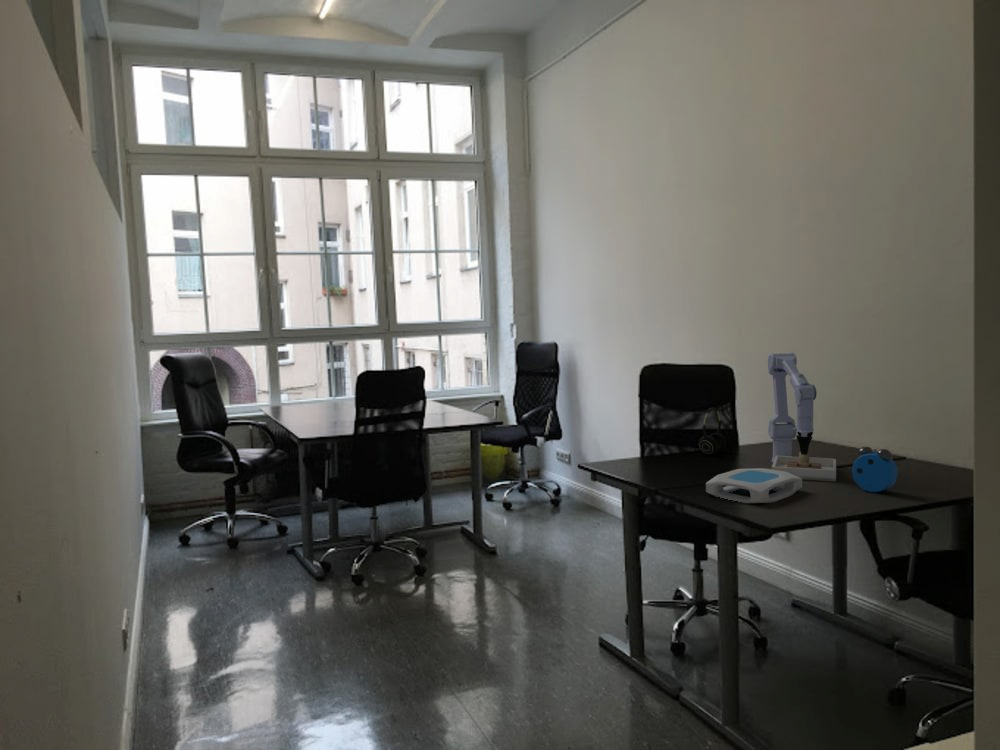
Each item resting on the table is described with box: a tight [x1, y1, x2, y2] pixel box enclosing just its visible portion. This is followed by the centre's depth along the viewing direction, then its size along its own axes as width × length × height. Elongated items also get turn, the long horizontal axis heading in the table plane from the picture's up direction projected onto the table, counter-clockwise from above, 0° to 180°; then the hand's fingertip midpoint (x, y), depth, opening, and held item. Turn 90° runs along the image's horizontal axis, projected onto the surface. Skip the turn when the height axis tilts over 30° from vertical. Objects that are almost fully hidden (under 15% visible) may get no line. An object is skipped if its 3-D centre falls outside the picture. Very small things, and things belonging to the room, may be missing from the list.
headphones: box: [698, 407, 727, 455], centre depth 338 cm, size 9×15×20 cm, turn 138°
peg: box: [798, 451, 810, 467], centre depth 298 cm, size 4×4×7 cm
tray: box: [771, 456, 837, 482], centre depth 298 cm, size 22×22×4 cm
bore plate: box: [787, 461, 822, 469], centre depth 298 cm, size 12×12×2 cm
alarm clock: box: [851, 446, 899, 493], centre depth 268 cm, size 13×6×15 cm, turn 38°
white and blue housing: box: [705, 467, 803, 504], centre depth 270 cm, size 21×28×6 cm
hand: (804, 452), depth 297 cm, fingers open, 7 cm apart
